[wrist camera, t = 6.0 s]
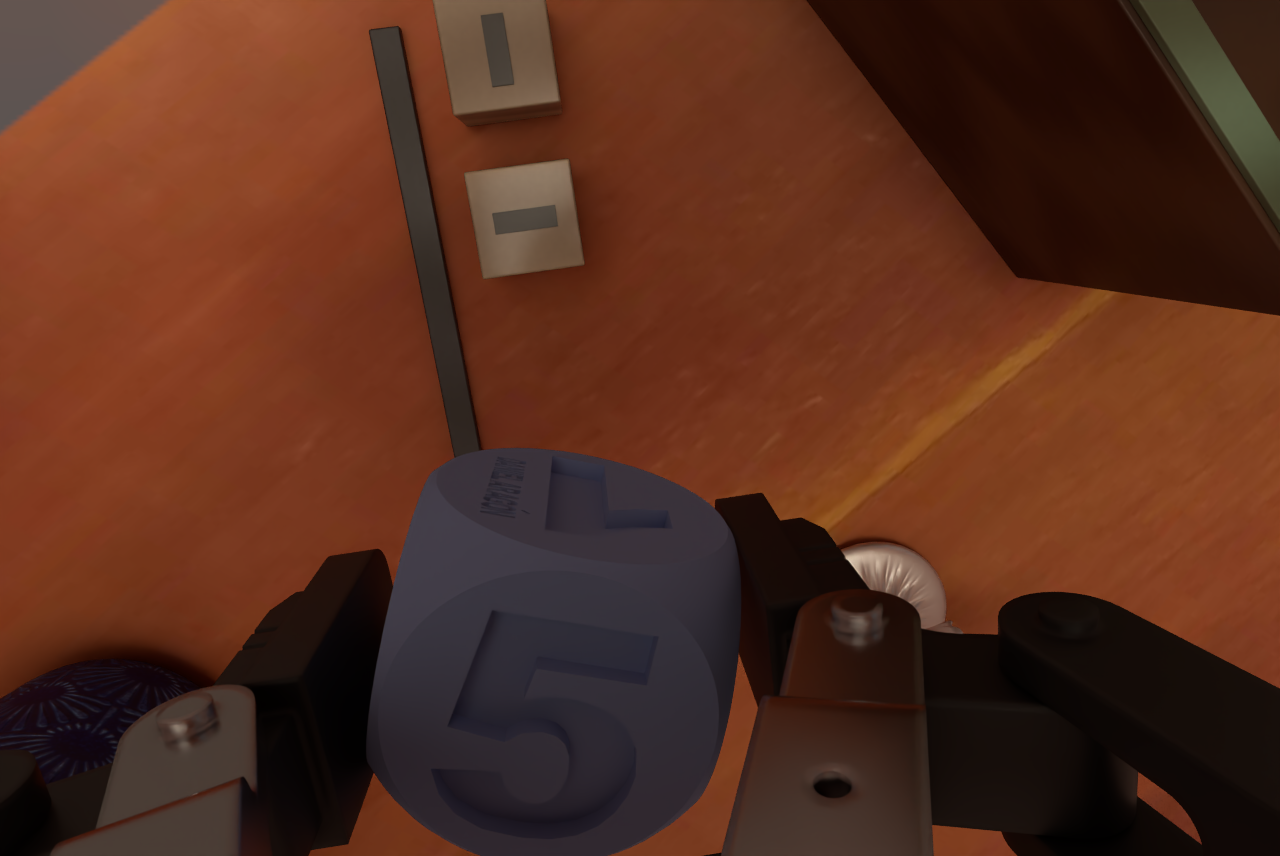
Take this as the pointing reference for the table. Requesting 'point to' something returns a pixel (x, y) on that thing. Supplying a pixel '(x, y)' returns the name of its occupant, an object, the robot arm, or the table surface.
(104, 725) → the planter
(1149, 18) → the dark brown block
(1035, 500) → the table surface
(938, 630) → the figurine
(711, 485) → the table surface
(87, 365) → the table surface
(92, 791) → the robot arm
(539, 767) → the decorative dice
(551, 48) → the beige cubes with bar
